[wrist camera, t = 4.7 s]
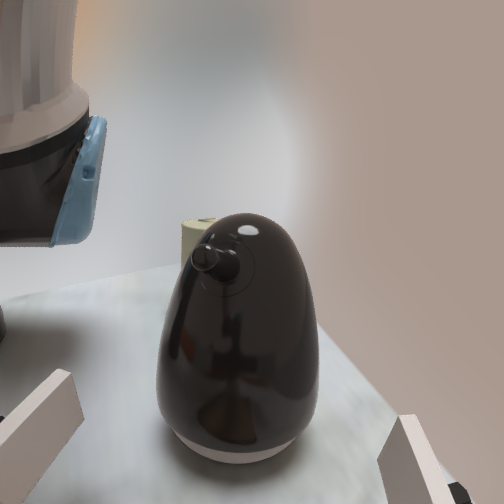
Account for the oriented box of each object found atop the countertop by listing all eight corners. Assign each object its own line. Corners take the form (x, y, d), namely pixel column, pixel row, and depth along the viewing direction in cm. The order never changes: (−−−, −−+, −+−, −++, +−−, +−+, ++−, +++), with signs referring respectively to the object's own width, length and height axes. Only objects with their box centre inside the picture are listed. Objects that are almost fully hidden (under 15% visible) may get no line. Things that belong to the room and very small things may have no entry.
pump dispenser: (132, 452, 16) (101, 213, 13) (200, 378, 26) (205, 201, 22) (285, 507, 13) (347, 243, 10) (315, 406, 23) (350, 216, 19)
